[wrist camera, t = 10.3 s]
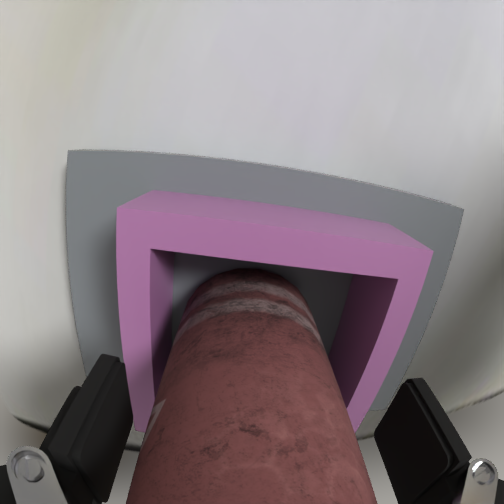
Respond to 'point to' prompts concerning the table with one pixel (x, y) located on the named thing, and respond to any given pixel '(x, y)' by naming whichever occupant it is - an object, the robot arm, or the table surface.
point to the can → (249, 405)
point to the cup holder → (250, 260)
